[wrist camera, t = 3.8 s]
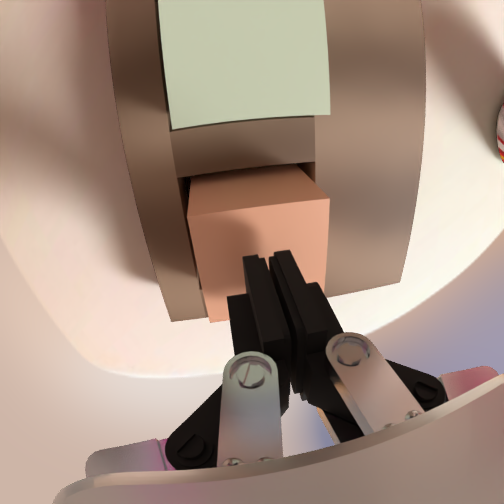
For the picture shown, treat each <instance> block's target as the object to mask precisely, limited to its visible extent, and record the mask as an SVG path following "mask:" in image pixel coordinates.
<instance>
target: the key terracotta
mask: <svg viewBox="0 0 504 504" xmlns="http://www.w3.org/2000/svg"><path fill="white" fill-rule="evenodd" d="M329 207H330V198H329V197H328V196H327V195H326V194H325V193H324V192H323V191H322V190H321V189H320V188H319V187H318V186H317V185H316V184H315V183H314V182H313V181H312V180H311V179H310V178H309V177H308V176H307V175H306V174H305V173H304V172H303V171H302V170H301V169H300V168H299V167H298V166H297V165H296V164H289V165H278V166H268V167H259V168H250V169H242V170H234V171H226V172H218V173H211V174H204V175H198V176H191V185H190V194H189V203H188V213H187V219H188V224H189V229H190V234H191V239H192V244H193V249H194V254H195V258H196V263H197V268H198V272H199V277H200V282H201V286H202V291H203V295H204V299H205V304H206V308H207V312H208V316H209V321H210V323H212V322H219V321H226V320H230V318H229V311H228V304H227V296H232V295H238V294H245V293H246V286H245V278H244V269H243V260H242V256H249V255H255V254H258V256H259V258H263V257H264V258H265V260H266V263H267V266H268V269H269V257H270V256H274V252H276V251H282V250H290V251H291V253H292V255H293V257H294V259H295V261H296V263H297V265H298V267H299V269H300V271H301V273H302V276H303V278H304V280H305V282H306V283H312V282H318V284H319V285H320V287H321V289H322V291H323V293H324V287H325V275H326V262H327V247H328V229H329Z"/></svg>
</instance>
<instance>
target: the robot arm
mask: <svg viewBox="0 0 504 504" xmlns="http://www.w3.org/2000/svg"><path fill="white" fill-rule="evenodd" d="M242 260H243V269H244V278H245V286H246V293H245V294H238V295H232V296H227V304H228V311H229V318H230V326H231V333H232V340H233V347H234V354H235V356H234V357H233V358H232V359H230V360H229V361H228V363H227V364H226V366H225V368H224V372H223V383H222V385H221V386H220V387H219V388H218V389H217V390H216V391H215V392H214V393H213V394H212V395H211V396H210V397H209V398H208V399H207V400H206V401H205V402H204V403H203V404H202V405H201V406H200V407H199V408H198V409H197V410H196V411H195V412H194V413H193V414H192V415H191V416H190V417H189V418H188V419H187V420H185V422H183V423H182V424H181V425H180V426H179V427H178V428H177V429H176V430H175V431H174V432H173V433H172V434H171V435H170V437H169V438H167V439H163V440H159V441H158V440H157V439H151V440H147V441H143V442H139V443H134V444H129V445H124V446H119V447H114V448H108V449H103V450H99V451H96V452H94V453H93V454H92V455H90V456H89V458H88V460H87V462H86V469H85V471H86V477H87V478H85V479H82V480H80V481H77V482H74V483H72V484H70V485H68V486H66V487H65V488H63V489H62V490H61V491H60V492H59V493H58V494H57V496H56V497H55V499H54V501H53V504H504V374H501V375H498V373H497V371H495V370H494V369H493V368H491V367H488V366H480V367H476V368H471V369H467V370H462V371H457V372H452V373H447V374H441V375H440V376H439V378H436V377H434V376H431V375H429V374H426V373H423V372H420V371H418V370H415V369H411V368H409V367H406V366H403V365H401V364H397V363H395V362H392V361H389V360H386V359H384V357H383V356H382V355H381V353H380V352H379V351H378V350H377V348H376V347H375V346H374V344H373V343H372V342H371V341H370V340H369V339H368V338H367V337H365V336H363V335H361V334H357V333H353V332H346V333H344V332H343V330H342V328H341V326H340V324H339V322H338V320H337V318H336V316H335V314H334V312H333V310H332V308H331V306H330V304H329V302H328V300H327V298H326V296H325V295H324V293H323V291H322V289H321V287H320V285H319V284H318V282H312V283H306V282H305V280H304V278H303V276H302V273H301V271H300V269H299V267H298V265H297V263H296V261H295V259H294V257H293V255H292V253H291V251H290V250H282V251H276V252H274V256H270V257H269V269H268V266H267V263H266V260H265V258H264V257H263V258H259V256H258V254H255V255H249V256H242ZM290 382H291V385H292V388H293V392H294V393H295V394H296V393H300V396H301V399H302V401H304V400H307V401H308V403H309V404H311V405H313V406H316V407H317V411H318V414H319V415H320V417H321V419H322V421H323V423H324V425H325V427H326V428H327V430H328V432H329V434H330V436H331V438H332V440H333V441H334V443H335V445H334V446H330V447H326V448H323V449H319V450H315V451H311V452H307V453H302V454H298V455H294V456H289V457H284V458H283V448H282V431H281V416H282V415H283V414H284V413H285V411H286V410H287V409H288V407H289V395H290Z"/></svg>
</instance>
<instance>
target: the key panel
mask: <svg viewBox="0 0 504 504" xmlns="http://www.w3.org/2000/svg"><path fill="white" fill-rule="evenodd" d="M324 10H325V21H326V32H327V46H328V62H329V83H330V115H304V116H283V117H268V118H256V119H245V120H236V121H227V122H219V123H211V124H204V125H197V126H190V127H184V128H178V129H172V123H171V116H170V109H169V102H168V94H167V86H166V78H165V70H164V61H163V51H162V41H161V31H160V19H159V7H158V0H106V19H107V32H108V44H109V54H110V63H111V71H112V79H113V86H114V93H115V100H116V107H117V113H118V119H119V124H120V130H121V136H122V141H123V146H124V151H125V156H126V161H127V166H128V170H129V175H130V179H131V184H132V188H133V192H134V196H135V201H136V205H137V209H138V213H139V217H140V220H141V224H142V228H143V232H144V235H145V239H146V243H147V246H148V250H149V253H150V257H151V260H152V263H153V267H154V270H155V273H156V277H157V280H158V283H159V286H160V289H161V292H162V295H163V299H164V302H165V305H166V308H167V310H168V313H169V316H170V319H171V322H174V321H183V320H191V319H198V318H206V317H209V316H208V312H207V308H206V304H205V299H204V295H203V291H202V286H201V282H200V277H199V272H198V268H197V263H196V258H195V254H194V249H193V244H192V239H191V234H190V229H189V224H188V219H187V213H188V203H189V202H188V196H187V190H186V184H185V178H184V177H185V176H192V175H198V174H205V173H212V172H219V171H227V170H234V169H243V168H251V167H260V166H269V165H279V164H290V163H297V166H298V167H299V168H300V169H301V170H302V171H303V172H304V173H305V174H306V175H307V176H308V177H309V178H310V179H311V180H312V181H313V182H314V183H315V184H316V185H317V186H318V187H319V188H320V189H321V190H322V191H323V192H324V193H325V194H326V195H327V196H328V197H329V198H330V207H329V229H328V247H327V262H326V275H325V287H324V295H325V296H326V298H328V297H333V296H338V295H343V294H348V293H353V292H358V291H363V290H367V289H372V288H377V287H381V286H386V285H390V284H395V283H399V282H400V280H401V276H402V272H403V267H404V263H405V259H406V254H407V250H408V245H409V240H410V235H411V230H412V224H413V219H414V213H415V207H416V201H417V194H418V187H419V179H420V171H421V162H422V152H423V140H424V126H425V103H426V62H425V40H424V27H423V16H422V7H421V0H324Z"/></svg>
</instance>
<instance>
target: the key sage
mask: <svg viewBox="0 0 504 504" xmlns="http://www.w3.org/2000/svg"><path fill="white" fill-rule="evenodd" d="M158 7H159V19H160V31H161V41H162V51H163V61H164V70H165V78H166V86H167V94H168V102H169V109H170V116H171V123H172V129H178V128H184V127H190V126H197V125H204V124H211V123H219V122H227V121H236V120H245V119H256V118H268V117H283V116H304V115H330V83H329V62H328V46H327V32H326V21H325V10H324V0H158Z"/></svg>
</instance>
